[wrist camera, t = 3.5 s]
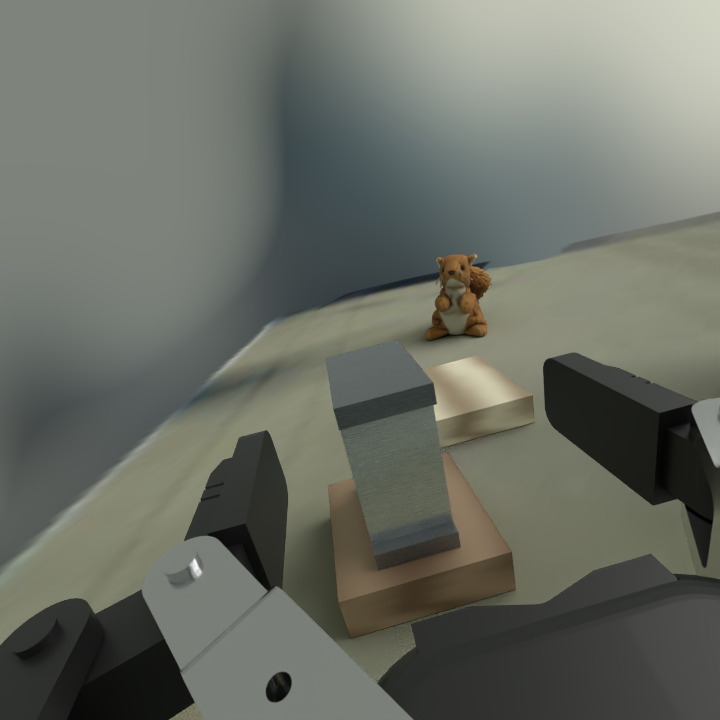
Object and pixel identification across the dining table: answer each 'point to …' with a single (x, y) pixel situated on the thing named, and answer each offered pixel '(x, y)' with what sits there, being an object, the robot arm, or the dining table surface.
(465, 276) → the stuffed squirrel
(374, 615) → the walnut stand
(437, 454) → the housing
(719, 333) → the dining table surface
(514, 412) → the cream slab
